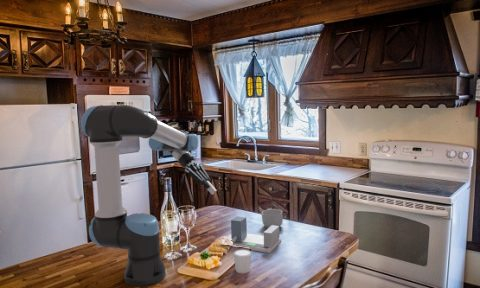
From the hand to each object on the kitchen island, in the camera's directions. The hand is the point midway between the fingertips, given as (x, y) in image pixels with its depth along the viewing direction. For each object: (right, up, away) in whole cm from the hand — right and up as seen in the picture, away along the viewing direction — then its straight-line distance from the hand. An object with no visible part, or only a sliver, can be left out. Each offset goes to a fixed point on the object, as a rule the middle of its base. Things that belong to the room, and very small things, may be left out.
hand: (214, 192), depth 176 cm
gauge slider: (+11, -21, -5) cm, 24 cm away
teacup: (+29, -20, +17) cm, 39 cm away
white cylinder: (+13, -26, -33) cm, 44 cm away
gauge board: (+17, -22, -6) cm, 29 cm away
